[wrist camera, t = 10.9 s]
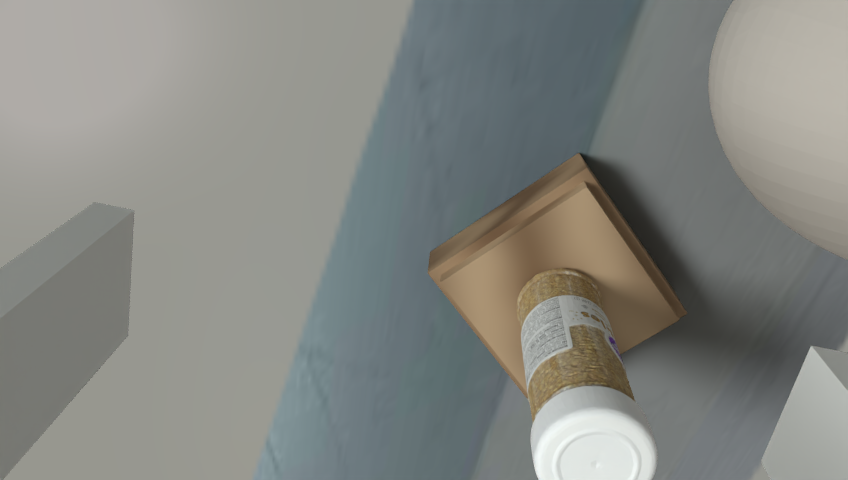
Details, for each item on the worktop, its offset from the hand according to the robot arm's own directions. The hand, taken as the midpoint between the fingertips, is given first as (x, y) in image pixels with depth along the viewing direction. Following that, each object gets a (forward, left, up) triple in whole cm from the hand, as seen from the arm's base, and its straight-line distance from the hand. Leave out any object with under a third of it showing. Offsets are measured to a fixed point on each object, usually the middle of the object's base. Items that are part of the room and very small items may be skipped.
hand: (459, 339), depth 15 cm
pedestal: (+2, +12, -28) cm, 30 cm away
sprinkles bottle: (+2, +12, -24) cm, 27 cm away
